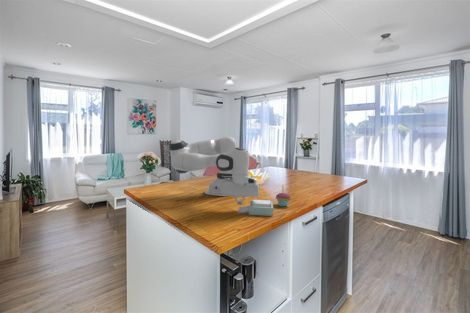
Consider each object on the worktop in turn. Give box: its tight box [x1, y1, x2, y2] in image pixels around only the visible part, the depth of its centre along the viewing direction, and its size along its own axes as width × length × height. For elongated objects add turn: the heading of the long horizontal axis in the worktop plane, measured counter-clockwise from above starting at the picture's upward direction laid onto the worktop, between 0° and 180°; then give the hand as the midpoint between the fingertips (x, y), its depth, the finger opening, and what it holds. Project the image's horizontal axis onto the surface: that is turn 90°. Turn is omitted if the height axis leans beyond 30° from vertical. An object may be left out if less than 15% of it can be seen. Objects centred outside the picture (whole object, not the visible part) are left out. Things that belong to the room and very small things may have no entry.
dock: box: [237, 199, 274, 217], centre depth 126 cm, size 18×13×5 cm
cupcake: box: [275, 184, 292, 207], centre depth 137 cm, size 9×8×12 cm
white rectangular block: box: [252, 199, 271, 207], centre depth 125 cm, size 9×7×4 cm
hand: (239, 204), depth 127 cm, fingers closed
